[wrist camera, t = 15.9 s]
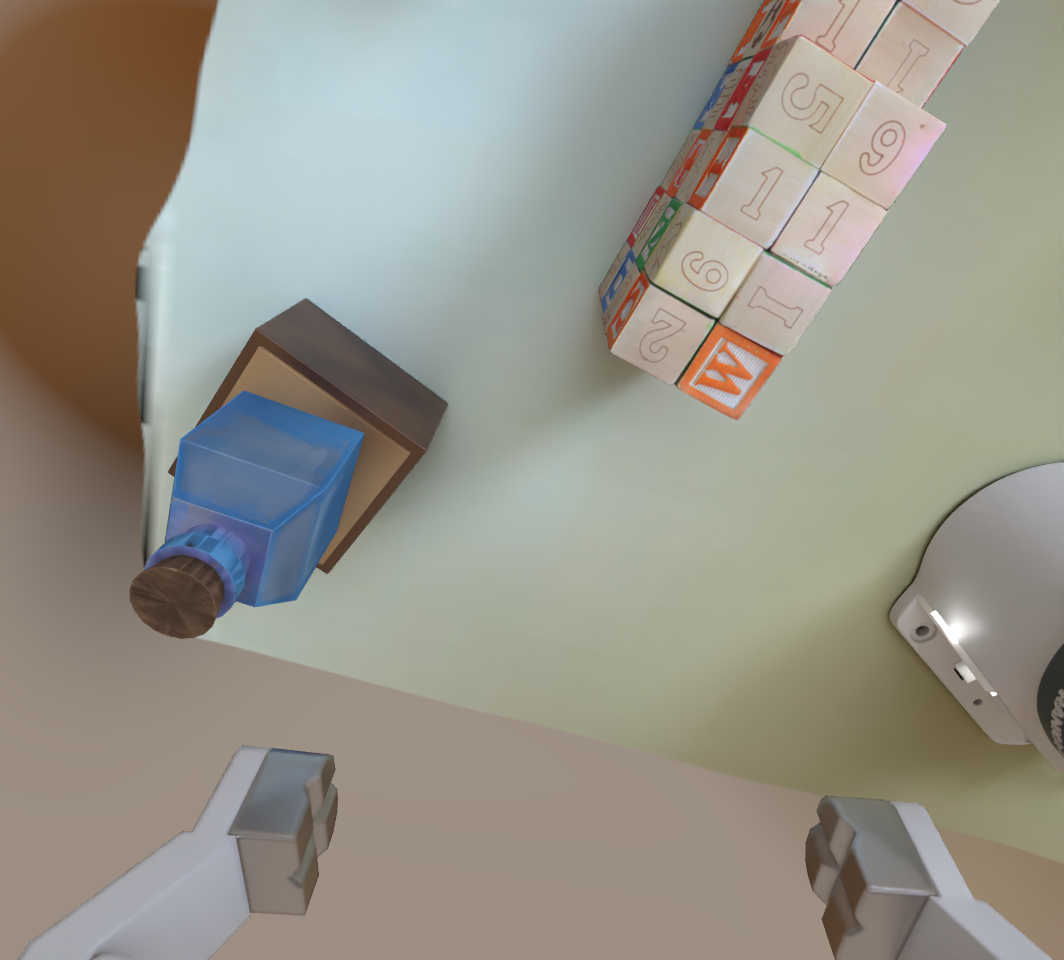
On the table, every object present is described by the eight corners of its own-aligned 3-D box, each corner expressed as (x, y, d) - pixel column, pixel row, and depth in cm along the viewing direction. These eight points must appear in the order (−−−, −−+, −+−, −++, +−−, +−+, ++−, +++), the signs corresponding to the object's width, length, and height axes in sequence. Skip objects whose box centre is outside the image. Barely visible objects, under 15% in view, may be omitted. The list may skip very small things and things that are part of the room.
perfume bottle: (224, 493, 37) (81, 640, 26) (243, 390, 34) (93, 506, 24) (336, 531, 38) (242, 689, 27) (364, 433, 35) (272, 564, 24)
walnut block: (448, 403, 42) (426, 453, 35) (361, 514, 46) (325, 578, 39) (305, 297, 39) (253, 329, 33) (225, 423, 43) (163, 475, 37)
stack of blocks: (849, -157, 30) (1015, -331, 19) (964, -73, 31) (1185, -190, 20) (595, 291, 38) (606, 354, 27) (691, 345, 39) (738, 426, 28)
